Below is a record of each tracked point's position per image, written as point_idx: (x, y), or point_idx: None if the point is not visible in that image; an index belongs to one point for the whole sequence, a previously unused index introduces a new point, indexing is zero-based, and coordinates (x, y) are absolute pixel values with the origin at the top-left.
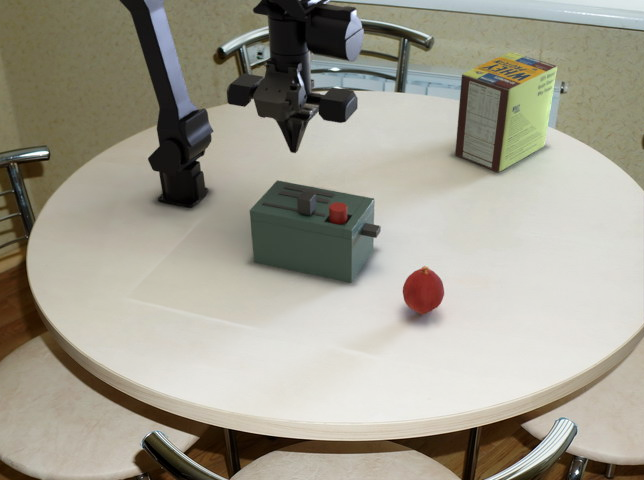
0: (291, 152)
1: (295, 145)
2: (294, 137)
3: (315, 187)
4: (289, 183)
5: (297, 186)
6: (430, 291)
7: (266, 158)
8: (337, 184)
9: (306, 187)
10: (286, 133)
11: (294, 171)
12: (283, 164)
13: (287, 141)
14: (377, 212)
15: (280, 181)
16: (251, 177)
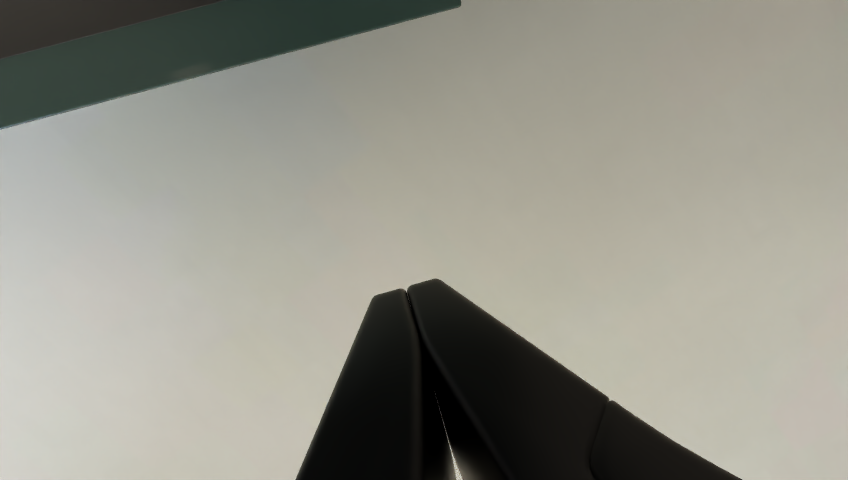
0: (428, 282)
1: (365, 356)
2: (376, 438)
3: (51, 114)
4: (318, 25)
5: (208, 21)
6: None
7: (797, 409)
8: None
9: (119, 59)
10: (531, 427)
11: (642, 407)
12: (711, 417)
13: (492, 343)
14: (90, 384)
15: (418, 4)
16: (793, 267)
